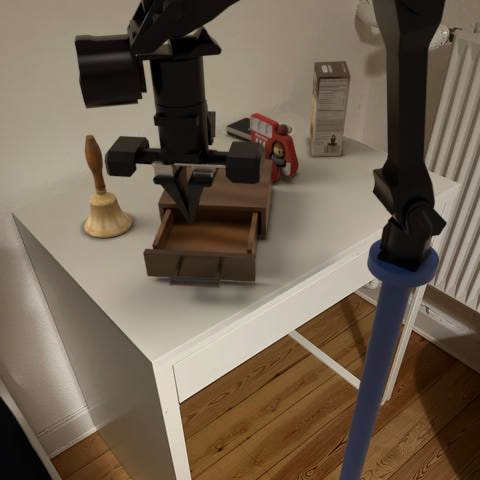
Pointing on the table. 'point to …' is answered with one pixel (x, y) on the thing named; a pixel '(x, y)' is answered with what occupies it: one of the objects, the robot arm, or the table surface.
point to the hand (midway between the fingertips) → (191, 220)
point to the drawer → (205, 248)
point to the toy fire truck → (275, 144)
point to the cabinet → (233, 196)
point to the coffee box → (329, 107)
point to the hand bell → (103, 199)
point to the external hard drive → (240, 129)
